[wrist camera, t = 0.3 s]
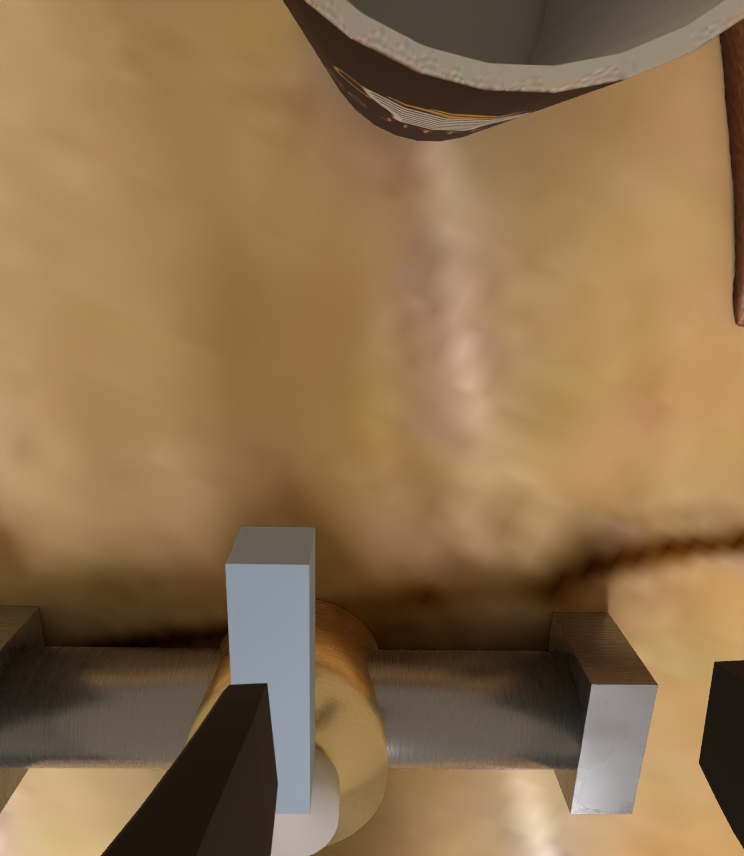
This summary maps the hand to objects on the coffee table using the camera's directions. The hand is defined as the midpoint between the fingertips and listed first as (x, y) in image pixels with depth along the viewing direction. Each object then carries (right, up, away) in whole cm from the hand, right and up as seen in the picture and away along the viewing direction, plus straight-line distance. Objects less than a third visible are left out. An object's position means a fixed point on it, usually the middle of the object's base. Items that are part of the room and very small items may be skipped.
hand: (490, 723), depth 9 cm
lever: (-4, -2, +6) cm, 8 cm away
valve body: (-5, -4, +12) cm, 13 cm away
